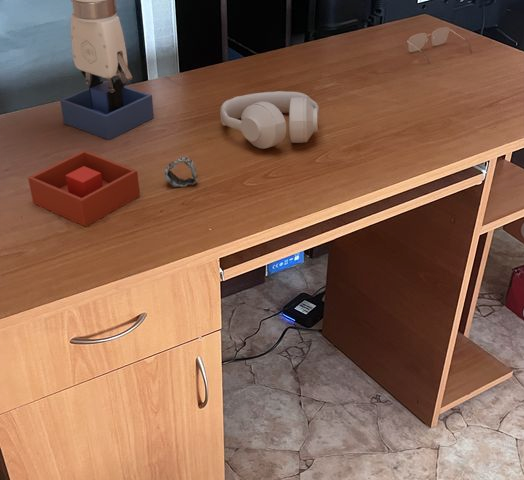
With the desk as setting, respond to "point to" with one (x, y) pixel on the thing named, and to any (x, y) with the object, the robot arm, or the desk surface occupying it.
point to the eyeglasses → (436, 39)
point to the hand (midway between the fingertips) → (107, 106)
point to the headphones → (271, 117)
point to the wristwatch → (178, 181)
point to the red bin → (93, 205)
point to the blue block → (100, 97)
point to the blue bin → (103, 124)
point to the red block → (83, 181)
